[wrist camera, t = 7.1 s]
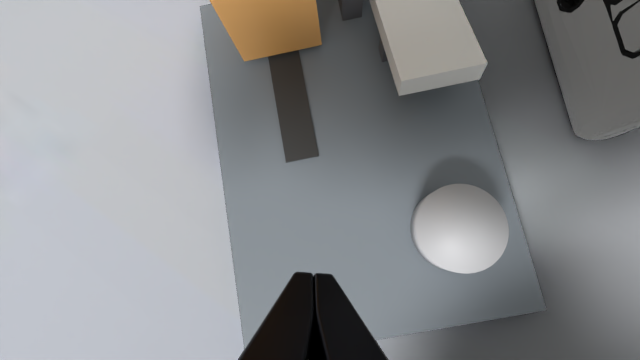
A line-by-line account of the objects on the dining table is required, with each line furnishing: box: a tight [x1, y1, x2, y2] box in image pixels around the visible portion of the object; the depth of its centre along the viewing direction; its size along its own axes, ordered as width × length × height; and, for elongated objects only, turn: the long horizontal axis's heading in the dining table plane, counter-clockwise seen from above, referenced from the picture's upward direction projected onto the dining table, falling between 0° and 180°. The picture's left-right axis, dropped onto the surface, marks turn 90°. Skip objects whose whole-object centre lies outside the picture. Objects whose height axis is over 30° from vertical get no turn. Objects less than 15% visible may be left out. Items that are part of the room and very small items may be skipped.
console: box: [200, 0, 547, 349], centre depth 16 cm, size 18×13×3 cm
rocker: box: [369, 0, 488, 96], centre depth 15 cm, size 6×4×1 cm, turn 11°
